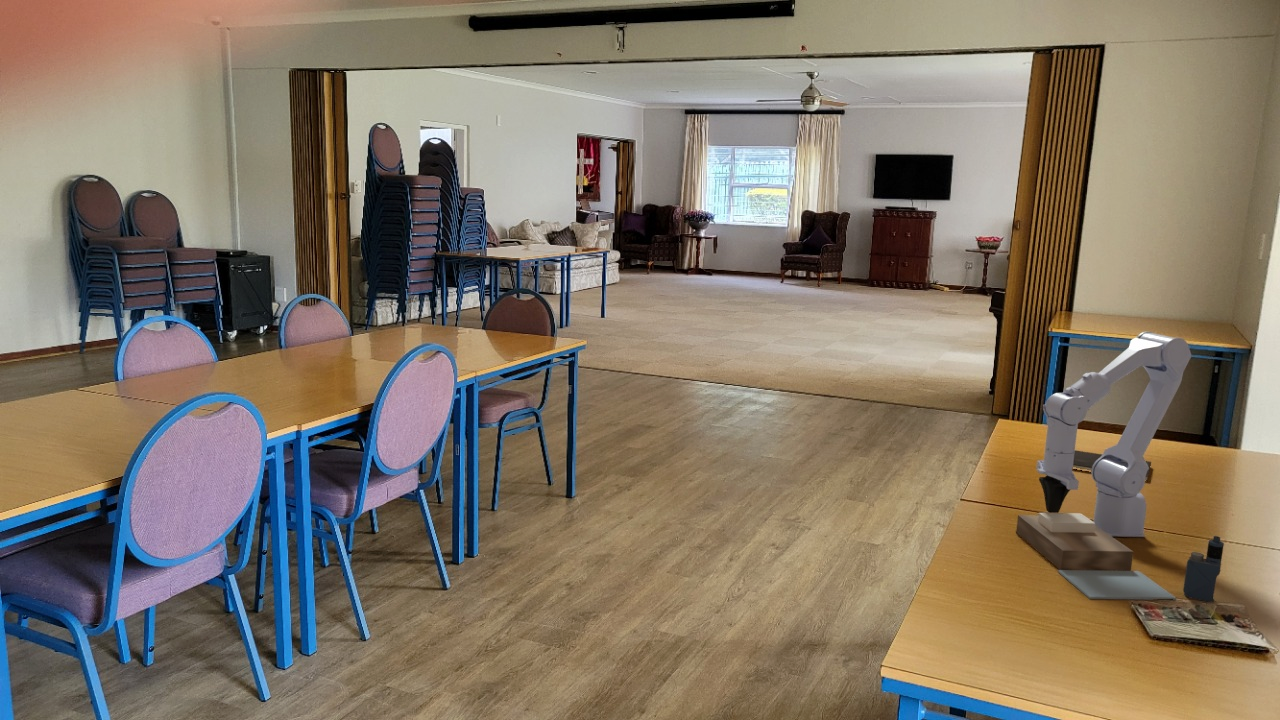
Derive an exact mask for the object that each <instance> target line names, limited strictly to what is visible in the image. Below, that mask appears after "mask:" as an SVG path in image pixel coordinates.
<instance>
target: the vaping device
mask: <svg viewBox="0 0 1280 720" xmlns="http://www.w3.org/2000/svg"><path fill="white" fill-rule="evenodd" d="M1207 544H1208V545H1207V549H1206V555H1204V554H1203V553H1202V552H1201V553H1200V552H1197V551H1192V552H1190V556H1189V557H1188V559H1187V563H1186V568H1185V576H1184V580H1183V589H1182V591H1183V593H1184V596H1185V597H1187V598H1190V599H1194V600H1198V601H1204V602H1209V603H1213V602H1215V600H1214V595H1215V589H1216V583H1217V578H1218V576H1219V575H1220V574H1221V568H1222V559H1223V558H1222V557H1223V552H1224V545H1225V543H1224V541H1221V537H1220V536H1218V535H1214V536H1213V538H1212V539H1209V540H1208V543H1207ZM1204 557H1206V558H1204Z"/></svg>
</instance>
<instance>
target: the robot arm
mask: <svg viewBox="0 0 1280 720" xmlns="http://www.w3.org/2000/svg"><path fill="white" fill-rule="evenodd" d="M1191 358H1192V353H1191V349H1190V346H1189V344H1188V342H1187V341H1186V340H1185V339H1184V338H1181V337H1174V336H1169V335H1168V336H1167V335H1164V334H1158V333H1155V332H1152V331H1142V332H1141V333H1139V334H1138V335H1137V336H1136V337H1134V338H1133V339H1131V340H1130V341H1129V345H1128V347H1127V348H1126V349H1125V350H1124V351H1122V352H1121V353H1120V354H1119V355H1118V356H1117V357H1116V358H1114V359H1113V360H1112V361H1111V362H1109V363H1108V365H1106V366H1105V367H1103V368H1102V370H1100V371H1099V372H1095V371H1091V372H1090V371H1089V372H1085V373H1084V374H1082V375H1081V378H1080V379H1079V380H1077V381H1076V382H1074V383H1073V384H1071V385H1070V386H1068V387H1066V388H1065V389H1064V391H1063V392H1055V393H1053V394H1052V395H1050V396H1049V397H1048V398H1047V400H1046V401H1045V404H1043V405H1042V407H1043V408H1042V409H1043V413H1044V414H1045V416H1046V421H1045V422H1046V425H1047V427H1046V428H1047V429H1046V439H1045V446H1044V454H1043V455H1044V456H1043V460H1037V461H1036V462H1037V463H1036V468H1035V469H1036V471H1037V473H1039V474H1040V475H1045V476H1040V477H1039V478H1038V481H1039V482H1040V483H1039V484H1040V485H1041V488H1042V491H1043V495H1044V503H1045V509H1046V511H1047V513H1060V510H1061V508H1062V505H1063V503H1064V502H1065V499H1066V497H1067V495H1068V494H1069V493H1070V491H1072V490H1073V491H1078V489H1079V483H1080V481H1079V480H1078V479H1077V478H1076V475H1075V473H1074V471H1073V470H1072V469H1073V461H1074V453H1075V450H1076V441H1077V433H1078V425H1079V424H1080V423H1082V422H1083V421H1084V419H1085V418H1086V415H1087V412H1089V410H1090V408H1091V407H1093V406H1094V405H1095V404H1097V403H1098V402H1099V401H1100V400H1102V399H1104V398H1105V397H1106V396H1107V395H1108V394H1110V392H1111V386H1112V385H1113V384H1114V383H1116V382H1118V381H1119V380H1122V379H1123V378H1124V377H1126V376H1127V375H1129V374H1131V373H1132V372H1134V371H1135V370H1137V369H1139V368H1140V367H1142V368H1144V370H1145V371H1146V372H1147V374H1148V377H1149V382H1148V383H1147V386H1146V387H1145V390H1144V391H1143V393H1142V395H1141V397H1140V400H1139V402H1138V403H1137V405H1136V407H1135V408H1134V412H1133V413H1132V415H1131V417H1130V419H1129V420H1128V422H1127V424H1126V426H1125V429H1124V430H1123V433H1122V434H1121V436H1120V438H1119V439H1118V442H1117V444H1114V445H1112V446H1110V447H1107V448H1106V449H1104V451H1103V452H1102V456H1101V457H1100V458H1099V459H1098V460H1096V461H1095V463H1094V464H1093V466H1092V470H1091V473H1090V474H1091V478H1092V480H1093V481H1094V482H1095V488H1097V489H1096V500H1095V506H1094V514H1093V520H1092V521H1093V522H1094V523H1095V525H1096V526H1097V527H1098V528H1100V529H1101V530H1103V531H1104V532H1106V533H1107V534H1109V535H1110V536H1112V537H1113V538H1114V537H1119V538H1120V537H1125V538H1126V537H1127V538H1128V537H1130V538H1145V537H1146V534H1145V533H1144V530H1145V523H1146V522H1145V521H1146V515H1147V501H1146V498H1145V496H1144V495H1143V494H1142V493H1141V491H1142V489H1144V487H1145V484H1146V482H1145V476H1146V473H1147V471H1148V469H1149V467H1148V465H1147V463H1146V461H1147V460H1146V459H1145V457H1144V455H1145V453H1146V451H1147V449H1148V447H1150V446H1149V445H1150V444H1151V441H1152V440H1153V438H1154V436H1155V434H1156V431H1157V430H1158V428H1159V426H1160V424H1161V423H1162V420H1163V418H1164V417H1165V415H1166V413H1167V410H1168V409H1169V406H1170V404H1171V403H1172V401H1173V399H1174V398H1175V395H1176V393H1177V391H1178V389H1179V387H1180V385H1181V384H1182V379H1183V375H1184V372H1185V369H1186V368H1187V365H1188V364H1189V361H1190V360H1191ZM1122 462H1127V463H1128V465H1127V464H1124V463H1122Z"/></svg>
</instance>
